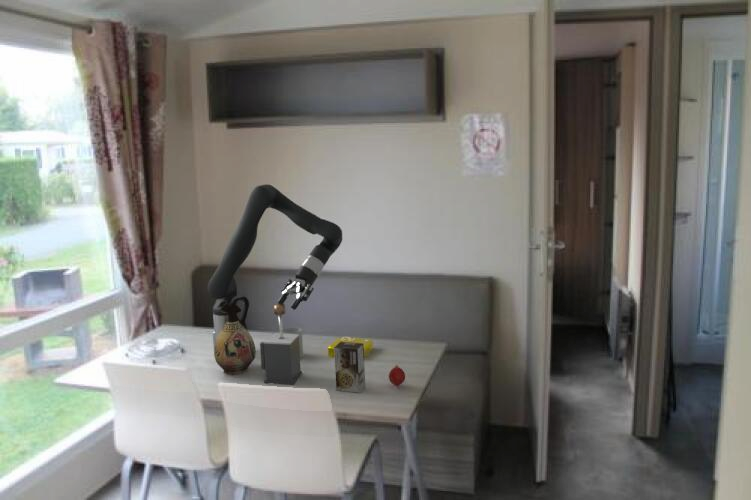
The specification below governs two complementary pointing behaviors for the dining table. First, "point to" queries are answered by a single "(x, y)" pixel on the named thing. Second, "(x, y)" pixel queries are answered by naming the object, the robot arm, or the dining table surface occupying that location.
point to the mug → (295, 331)
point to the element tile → (366, 342)
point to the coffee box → (349, 367)
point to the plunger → (280, 316)
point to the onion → (396, 376)
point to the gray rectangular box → (281, 359)
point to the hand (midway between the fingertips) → (285, 306)
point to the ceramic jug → (234, 339)
